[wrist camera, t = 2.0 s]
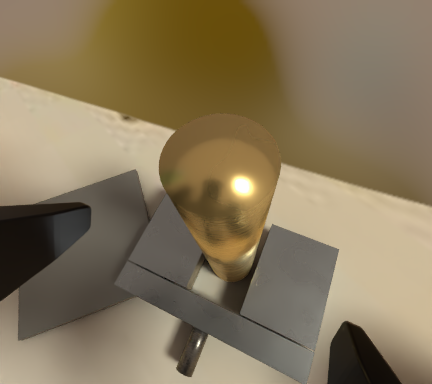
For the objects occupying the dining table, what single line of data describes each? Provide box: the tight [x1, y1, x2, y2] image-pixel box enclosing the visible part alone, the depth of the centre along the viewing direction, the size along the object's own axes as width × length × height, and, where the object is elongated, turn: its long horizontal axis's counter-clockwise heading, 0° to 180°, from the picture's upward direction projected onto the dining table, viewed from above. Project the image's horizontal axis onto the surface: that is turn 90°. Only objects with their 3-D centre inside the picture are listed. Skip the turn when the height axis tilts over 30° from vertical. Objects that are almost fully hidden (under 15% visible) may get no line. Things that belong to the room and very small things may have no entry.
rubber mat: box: [18, 170, 163, 341], centre depth 19 cm, size 10×10×1 cm
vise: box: [114, 193, 339, 384], centre depth 16 cm, size 10×12×2 cm
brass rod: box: [159, 114, 281, 282], centre depth 12 cm, size 3×3×13 cm
